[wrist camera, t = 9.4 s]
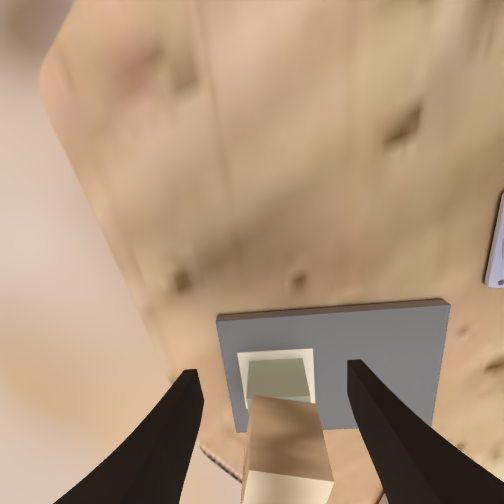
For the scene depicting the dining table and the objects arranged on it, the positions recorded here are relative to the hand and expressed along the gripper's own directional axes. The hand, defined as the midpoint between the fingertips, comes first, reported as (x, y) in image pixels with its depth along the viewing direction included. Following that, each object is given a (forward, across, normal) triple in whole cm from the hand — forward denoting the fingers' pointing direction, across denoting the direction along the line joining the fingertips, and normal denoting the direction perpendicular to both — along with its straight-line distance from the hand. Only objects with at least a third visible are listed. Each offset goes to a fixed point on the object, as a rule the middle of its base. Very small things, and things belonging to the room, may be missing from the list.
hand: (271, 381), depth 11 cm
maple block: (+5, 0, +10) cm, 11 cm away
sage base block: (+9, 0, +10) cm, 13 cm away
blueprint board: (+10, -5, +10) cm, 15 cm away
